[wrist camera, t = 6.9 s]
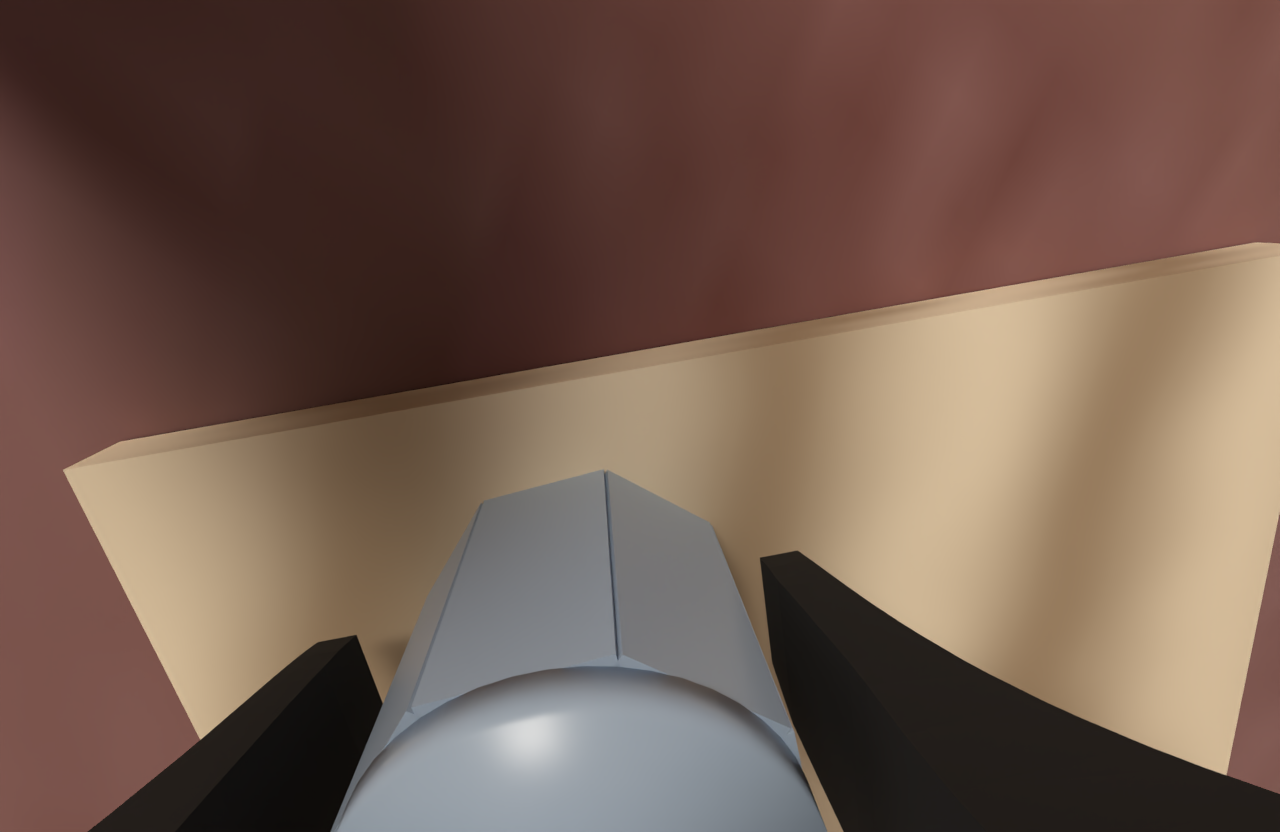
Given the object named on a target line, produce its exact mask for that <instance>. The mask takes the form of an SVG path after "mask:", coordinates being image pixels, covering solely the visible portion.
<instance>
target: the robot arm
mask: <svg viewBox="0 0 1280 832" xmlns="http://www.w3.org/2000/svg"><path fill="white" fill-rule="evenodd" d="M760 564H761V573H762V581H763V590H764V598H765V607H766V615H767V624H768V632H769V641H770V649H771V658H772V664H773V667H774V670H775V673H776V676H777V679H778V682H779V685H780V688H781V691H782V694H783V697H784V700H785V702H786V705H787V708H788V711H789V714H790V717H791V720H792V723H793V725H794V727H795V729H796V731H797V734H798V736H799V738H800V740H801V742H802V744H803V747H804V749H805V751H806V753H807V755H808V757H809V759H810V762H811V764H812V766H813V768H814V770H815V772H816V775H817V777H818V779H819V781H820V783H821V785H822V787H823V789H824V791H825V794H826V796H827V798H828V800H829V802H830V804H831V806H832V808H833V811H834V813H835V815H836V817H837V819H838V821H839V823H840V825H841V828H842V830H843V832H1280V794H1278V793H1275V792H1272V791H1269V790H1266V789H1263V788H1261V787H1258V786H1255V785H1252V784H1249V783H1246V782H1244V781H1241V780H1238V779H1235V778H1232V777H1229V776H1227V775H1224V774H1221V773H1218V772H1215V771H1212V770H1210V769H1207V768H1204V767H1201V766H1199V765H1196V764H1194V763H1191V762H1188V761H1186V760H1183V759H1180V758H1178V757H1175V756H1173V755H1170V754H1167V753H1165V752H1162V751H1159V750H1157V749H1154V748H1152V747H1149V746H1147V745H1144V744H1142V743H1139V742H1137V741H1135V740H1132V739H1130V738H1128V737H1125V736H1123V735H1120V734H1118V733H1116V732H1113V731H1111V730H1109V729H1106V728H1104V727H1101V726H1099V725H1097V724H1094V723H1092V722H1090V721H1087V720H1085V719H1082V718H1080V717H1078V716H1076V715H1073V714H1071V713H1069V712H1067V711H1065V710H1062V709H1060V708H1058V707H1056V706H1054V705H1051V704H1049V703H1047V702H1045V701H1043V700H1041V699H1039V698H1037V697H1035V696H1033V695H1031V694H1029V693H1027V692H1025V691H1023V690H1021V689H1019V688H1017V687H1015V686H1013V685H1011V684H1009V683H1007V682H1005V681H1003V680H1001V679H999V678H997V677H994V676H992V675H990V674H988V673H987V672H985V671H983V670H981V669H979V668H977V667H975V666H974V665H972V664H970V663H968V662H966V661H964V660H963V659H961V658H959V657H957V656H956V655H954V654H952V653H951V652H949V651H947V650H945V649H944V648H942V647H940V646H939V645H937V644H935V643H933V642H932V641H930V640H928V639H927V638H925V637H923V636H922V635H920V634H918V633H917V632H915V631H913V630H912V629H910V628H909V627H907V626H905V625H904V624H902V623H901V622H899V621H898V620H896V619H895V618H893V617H892V616H890V615H889V614H887V613H885V612H884V611H882V610H881V609H879V608H878V607H876V606H875V605H873V604H872V603H871V602H869V601H868V600H866V599H865V598H863V597H862V596H860V595H859V594H858V593H856V592H855V591H853V590H852V589H851V588H849V587H848V586H846V585H845V584H844V583H842V582H841V581H839V580H838V579H837V578H835V577H834V576H832V575H831V574H830V573H828V572H827V571H826V570H824V569H823V568H821V567H820V566H819V565H817V564H816V563H815V562H813V561H812V560H810V559H809V558H808V557H806V556H805V555H803V554H802V553H801V552H799V551H798V550H797V551H792V552H787V553H781V554H776V555H771V556H766V557H761V558H760ZM382 705H383V703H382V700H381V697H380V695H379V692H378V690H377V687H376V684H375V682H374V679H373V677H372V674H371V671H370V669H369V666H368V663H367V661H366V658H365V656H364V653H363V650H362V648H361V645H360V643H359V640H358V637H357V635H353V636H347V637H342V638H337V639H332V640H326V641H321V642H317V643H316V644H314V645H313V646H312V647H310V648H309V649H308V650H306V651H305V652H304V653H302V654H301V655H300V656H298V657H297V658H296V659H295V660H293V661H292V662H291V663H290V664H289V665H287V666H286V667H285V668H284V669H283V670H281V671H280V672H279V673H278V674H277V675H275V676H274V677H273V678H272V679H271V680H270V681H268V682H267V683H266V684H265V685H264V686H263V687H261V688H260V689H259V690H258V691H257V692H256V693H254V694H253V695H252V696H251V697H250V698H249V699H247V700H246V701H245V702H244V703H243V704H242V705H240V706H239V707H238V708H237V709H236V710H235V711H234V712H232V713H231V714H230V715H229V716H228V717H227V718H225V719H224V720H223V721H222V722H221V723H220V724H218V725H217V726H216V727H215V728H214V729H213V730H211V731H210V732H209V733H208V734H207V735H206V736H204V737H203V738H202V739H201V740H200V741H199V742H197V743H196V744H195V745H194V746H193V747H192V748H190V749H189V750H188V751H187V752H186V753H184V754H183V755H182V756H181V757H180V758H178V759H177V760H176V761H175V762H173V763H172V764H171V765H170V766H169V767H167V768H166V769H165V770H164V771H162V772H161V773H160V774H159V775H157V776H156V777H155V778H154V779H153V780H151V781H150V782H149V783H148V784H146V785H145V786H144V787H143V788H142V789H140V790H139V791H138V792H137V793H135V794H134V795H133V796H132V797H130V798H129V799H128V800H127V801H126V802H124V803H123V804H122V805H121V806H119V807H118V808H117V809H116V810H114V811H113V812H112V813H111V814H110V815H108V816H107V817H106V818H105V819H103V820H102V821H101V822H100V823H98V824H97V825H96V826H94V827H93V828H92V829H91V830H89V831H88V832H331V829H332V827H333V824H334V822H335V820H336V817H337V815H338V812H339V810H340V807H341V805H342V803H343V800H344V798H345V795H346V793H347V790H348V788H349V785H350V783H351V781H352V778H353V776H354V773H355V771H356V768H357V766H358V764H359V761H360V759H361V756H362V754H363V751H364V749H365V747H366V744H367V742H368V739H369V737H370V734H371V732H372V730H373V727H374V725H375V722H376V720H377V717H378V715H379V712H380V710H381V708H382Z"/></svg>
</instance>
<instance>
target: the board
mask: <svg viewBox="0 0 1280 832" xmlns="http://www.w3.org/2000/svg"><path fill="white" fill-rule="evenodd" d="M603 469H604V473H606V471H607V470H609V471H611V472H613V473H615V474H617V475H619V476H621V477H623V478H625V479H626V480H628V481H630V482H632V483H634V484H636V485H638V486H640V487H642V488H644V489H646V490H648V491H650V492H652V493H654V494H656V495H657V496H659V497H661V498H663V499H665V500H667V501H669V502H671V503H673V504H675V505H677V506H679V507H681V508H683V509H685V510H687V511H688V512H690V513H692V514H694V515H696V516H698V517H700V518H702V519H704V520H706V521H708V522H710V524H711V525H712V527H713V529H714V532H715V534H716V537H717V539H718V542H719V544H720V547H721V549H722V552H723V554H724V557H725V559H726V562H727V564H728V567H729V569H730V572H731V574H732V577H733V579H734V582H735V584H736V587H737V589H738V592H739V594H740V597H741V599H742V602H743V604H744V607H745V609H746V612H747V614H748V617H749V620H750V622H751V625H752V627H753V630H754V632H755V635H756V637H757V640H758V642H759V645H760V647H761V650H762V652H763V655H764V657H765V660H766V662H767V665H768V667H769V670H770V672H771V675H772V677H773V680H774V682H775V685H776V687H777V690H778V692H779V695H780V697H781V700H782V702H783V705H784V707H785V710H786V712H787V715H788V717H789V720H790V722H791V725H792V727H793V730H794V733H795V737H796V742H797V747H798V751H799V756H800V761H801V766H802V770H803V772H804V774H805V776H806V778H807V780H808V783H809V785H810V788H811V790H812V793H813V796H814V798H815V801H816V803H817V806H818V809H819V811H820V814H821V816H822V819H823V821H824V824H825V827H826V829H827V832H843V830H842V828H841V825H840V823H839V821H838V819H837V817H836V815H835V813H834V811H833V808H832V806H831V804H830V802H829V800H828V798H827V796H826V794H825V791H824V789H823V787H822V785H821V783H820V781H819V779H818V777H817V775H816V772H815V770H814V768H813V766H812V764H811V762H810V759H809V757H808V755H807V753H806V751H805V749H804V747H803V744H802V742H801V740H800V738H799V736H798V734H797V731H796V729H795V727H794V725H793V723H792V720H791V717H790V714H789V711H788V708H787V705H786V702H785V700H784V697H783V694H782V691H781V688H780V685H779V682H778V679H777V676H776V673H775V670H774V667H773V664H772V658H771V649H770V641H769V632H768V624H767V615H766V607H765V598H764V590H763V581H762V573H761V564H760V558H761V557H766V556H771V555H776V554H781V553H787V552H792V551H797V550H798V551H799V552H801V553H802V554H803V555H805V556H806V557H808V558H809V559H810V560H812V561H813V562H815V563H816V564H817V565H819V566H820V567H821V568H823V569H824V570H826V571H827V572H828V573H830V574H831V575H832V576H834V577H835V578H837V579H838V580H839V581H841V582H842V583H844V584H845V585H846V586H848V587H849V588H851V589H852V590H853V591H855V592H856V593H858V594H859V595H860V596H862V597H863V598H865V599H866V600H868V601H869V602H871V603H872V604H873V605H875V606H876V607H878V608H879V609H881V610H882V611H884V612H885V613H887V614H889V615H890V616H892V617H893V618H895V619H896V620H898V621H899V622H901V623H902V624H904V625H905V626H907V627H909V628H910V629H912V630H913V631H915V632H917V633H918V634H920V635H922V636H923V637H925V638H927V639H928V640H930V641H932V642H933V643H935V644H937V645H939V646H940V647H942V648H944V649H945V650H947V651H949V652H951V653H952V654H954V655H956V656H957V657H959V658H961V659H963V660H964V661H966V662H968V663H970V664H972V665H974V666H975V667H977V668H979V669H981V670H983V671H985V672H987V673H988V674H990V675H992V676H994V677H997V678H999V679H1001V680H1003V681H1005V682H1007V683H1009V684H1011V685H1013V686H1015V687H1017V688H1019V689H1021V690H1023V691H1025V692H1027V693H1029V694H1031V695H1033V696H1035V697H1037V698H1039V699H1041V700H1043V701H1045V702H1047V703H1049V704H1051V705H1054V706H1056V707H1058V708H1060V709H1062V710H1065V711H1067V712H1069V713H1071V714H1073V715H1076V716H1078V717H1080V718H1082V719H1085V720H1087V721H1090V722H1092V723H1094V724H1097V725H1099V726H1101V727H1104V728H1106V729H1109V730H1111V731H1113V732H1116V733H1118V734H1120V735H1123V736H1125V737H1128V738H1130V739H1132V740H1135V741H1137V742H1139V743H1142V744H1144V745H1147V746H1149V747H1152V748H1154V749H1157V750H1159V751H1162V752H1165V753H1167V754H1170V755H1173V756H1175V757H1178V758H1180V759H1183V760H1186V761H1188V762H1191V763H1194V764H1196V765H1199V766H1201V767H1204V768H1207V769H1210V770H1212V771H1215V772H1218V773H1221V774H1224V775H1226V774H1227V769H1228V764H1229V759H1230V754H1231V749H1232V744H1233V740H1234V735H1235V730H1236V725H1237V720H1238V715H1239V710H1240V705H1241V700H1242V695H1243V690H1244V685H1245V680H1246V675H1247V670H1248V665H1249V661H1250V656H1251V651H1252V646H1253V641H1254V636H1255V631H1256V626H1257V621H1258V616H1259V611H1260V606H1261V601H1262V596H1263V591H1264V586H1265V582H1266V577H1267V572H1268V567H1269V562H1270V557H1271V552H1272V547H1273V542H1274V537H1275V532H1276V527H1277V522H1278V517H1279V512H1280V244H1278V243H1258V242H1256V243H1250V244H1244V245H1239V246H1233V247H1227V248H1221V249H1216V250H1210V251H1204V252H1199V253H1193V254H1187V255H1181V256H1176V257H1170V258H1164V259H1159V260H1153V261H1147V262H1142V263H1136V264H1130V265H1124V266H1119V267H1113V268H1107V269H1102V270H1096V271H1090V272H1085V273H1079V274H1073V275H1067V276H1062V277H1056V278H1050V279H1045V280H1039V281H1033V282H1028V283H1022V284H1016V285H1010V286H1005V287H999V288H993V289H988V290H982V291H976V292H971V293H965V294H959V295H953V296H948V297H942V298H936V299H931V300H925V301H919V302H913V303H908V304H902V305H896V306H891V307H885V308H879V309H874V310H868V311H862V312H856V313H851V314H845V315H839V316H834V317H828V318H822V319H817V320H811V321H805V322H799V323H794V324H788V325H782V326H777V327H771V328H765V329H760V330H754V331H748V332H742V333H737V334H731V335H725V336H720V337H714V338H708V339H703V340H697V341H691V342H685V343H680V344H674V345H668V346H663V347H657V348H651V349H645V350H640V351H634V352H628V353H623V354H617V355H611V356H606V357H600V358H594V359H588V360H583V361H577V362H571V363H566V364H560V365H554V366H549V367H543V368H537V369H531V370H526V371H520V372H514V373H509V374H503V375H497V376H492V377H486V378H480V379H474V380H469V381H463V382H457V383H452V384H446V385H440V386H435V387H429V388H423V389H417V390H412V391H406V392H400V393H395V394H389V395H383V396H378V397H372V398H366V399H360V400H355V401H349V402H343V403H338V404H332V405H326V406H320V407H315V408H309V409H303V410H298V411H292V412H286V413H281V414H275V415H269V416H263V417H258V418H252V419H246V420H241V421H235V422H229V423H224V424H218V425H212V426H206V427H201V428H195V429H189V430H184V431H178V432H172V433H167V434H161V435H155V436H149V437H144V438H138V439H132V440H127V441H121V442H118V443H116V444H114V445H112V446H110V447H108V448H106V449H104V450H102V451H100V452H98V453H96V454H94V455H92V456H90V457H88V458H86V459H84V460H82V461H80V462H78V463H76V464H74V465H72V466H70V467H68V468H66V469H64V470H63V471H64V473H65V475H66V477H67V479H68V481H69V483H70V485H71V487H72V489H73V491H74V492H75V494H76V496H77V498H78V500H79V502H80V504H81V506H82V508H83V510H84V512H85V514H86V516H87V518H88V520H89V522H90V524H91V526H92V528H93V530H94V532H95V534H96V536H97V538H98V540H99V542H100V544H101V545H102V547H103V549H104V551H105V553H106V555H107V557H108V559H109V561H110V563H111V565H112V567H113V569H114V571H115V573H116V575H117V577H118V579H119V581H120V583H121V585H122V587H123V589H124V591H125V593H126V595H127V597H128V599H129V600H130V602H131V604H132V606H133V608H134V610H135V612H136V614H137V616H138V618H139V620H140V622H141V624H142V626H143V628H144V630H145V632H146V634H147V636H148V638H149V640H150V642H151V644H152V646H153V648H154V650H155V652H156V653H157V655H158V657H159V659H160V661H161V663H162V665H163V667H164V669H165V671H166V673H167V675H168V677H169V679H170V681H171V683H172V685H173V687H174V689H175V691H176V693H177V695H178V697H179V699H180V701H181V703H182V705H183V707H184V708H185V710H186V712H187V714H188V716H189V718H190V720H191V722H192V724H193V726H194V728H195V730H196V732H197V734H198V736H199V738H200V740H201V739H202V738H203V737H204V736H206V735H207V734H208V733H209V732H210V731H211V730H213V729H214V728H215V727H216V726H217V725H218V724H220V723H221V722H222V721H223V720H224V719H225V718H227V717H228V716H229V715H230V714H231V713H232V712H234V711H235V710H236V709H237V708H238V707H239V706H240V705H242V704H243V703H244V702H245V701H246V700H247V699H249V698H250V697H251V696H252V695H253V694H254V693H256V692H257V691H258V690H259V689H260V688H261V687H263V686H264V685H265V684H266V683H267V682H268V681H270V680H271V679H272V678H273V677H274V676H275V675H277V674H278V673H279V672H280V671H281V670H283V669H284V668H285V667H286V666H287V665H289V664H290V663H291V662H292V661H293V660H295V659H296V658H297V657H298V656H300V655H301V654H302V653H304V652H305V651H306V650H308V649H309V648H310V647H312V646H313V645H314V644H316V643H317V642H321V641H326V640H332V639H337V638H342V637H347V636H353V635H357V637H358V640H359V643H360V645H361V648H362V650H363V653H364V656H365V658H366V661H367V663H368V666H369V669H370V671H371V674H372V677H373V679H374V682H375V684H376V687H377V690H378V692H379V695H380V697H381V700H382V703H384V700H385V698H386V695H387V693H388V691H389V688H390V686H391V683H392V681H393V678H394V676H395V674H396V671H397V669H398V666H399V664H400V661H401V659H402V657H403V654H404V652H405V649H406V647H407V644H408V642H409V640H410V637H411V635H412V632H413V630H414V627H415V625H416V622H417V620H418V618H419V615H420V613H421V610H422V608H423V605H424V603H425V601H426V598H427V596H428V594H429V592H430V591H431V589H432V587H433V585H434V584H435V582H436V580H437V579H438V577H439V575H440V573H441V572H442V570H443V568H444V566H445V565H446V563H447V561H448V559H449V558H450V556H451V554H452V552H453V551H454V549H455V547H456V545H457V544H458V542H459V540H460V538H461V537H462V535H463V533H464V531H465V530H466V528H467V526H468V524H469V523H470V521H471V519H472V517H473V516H474V514H475V512H476V510H477V509H478V507H479V505H480V503H482V504H483V502H484V500H488V499H492V498H496V497H500V496H503V495H507V494H511V493H515V492H519V491H522V490H526V489H530V488H534V487H538V486H542V485H545V484H549V483H553V482H557V481H561V480H564V479H568V478H572V477H576V476H580V475H583V474H587V473H591V472H595V471H599V470H603Z"/></svg>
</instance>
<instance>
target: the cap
mask: <svg viewBox="0 0 1280 832" xmlns="http://www.w3.org/2000/svg"><path fill="white" fill-rule="evenodd" d="M331 832H827V829H826V827H825V824H824V821H823V819H822V816H821V814H820V811H819V809H818V806H817V803H816V801H815V798H814V796H813V793H812V790H811V788H810V785H809V783H808V780H807V778H806V776H805V774H804V772H803V770H802V766H801V761H800V756H799V751H798V747H797V742H796V737H795V733H794V730H793V727H792V725H791V722H790V720H789V717H788V715H787V712H786V710H785V707H784V705H783V702H782V700H781V697H780V695H779V692H778V690H777V687H776V685H775V682H774V680H773V677H772V675H771V672H770V670H769V667H768V665H767V662H766V660H765V657H764V655H763V652H762V650H761V647H760V645H759V642H758V640H757V637H756V635H755V632H754V630H753V627H752V625H751V622H750V620H749V617H748V614H747V612H746V609H745V607H744V604H743V602H742V599H741V597H740V594H739V592H738V589H737V587H736V584H735V582H734V579H733V577H732V574H731V572H730V569H729V567H728V564H727V562H726V559H725V557H724V554H723V552H722V549H721V547H720V544H719V542H718V539H717V537H716V534H715V532H714V529H713V527H712V525H711V524H710V522H708V521H706V520H704V519H702V518H700V517H698V516H696V515H694V514H692V513H690V512H688V511H687V510H685V509H683V508H681V507H679V506H677V505H675V504H673V503H671V502H669V501H667V500H665V499H663V498H661V497H659V496H657V495H656V494H654V493H652V492H650V491H648V490H646V489H644V488H642V487H640V486H638V485H636V484H634V483H632V482H630V481H628V480H626V479H625V478H623V477H621V476H619V475H617V474H615V473H613V472H611V471H609V470H607V471H606V473H604V469H603V470H599V471H595V472H591V473H587V474H583V475H580V476H576V477H572V478H568V479H564V480H561V481H557V482H553V483H549V484H545V485H542V486H538V487H534V488H530V489H526V490H522V491H519V492H515V493H511V494H507V495H503V496H500V497H496V498H492V499H488V500H484V502H483V504H482V503H480V505H479V507H478V509H477V510H476V512H475V514H474V516H473V517H472V519H471V521H470V523H469V524H468V526H467V528H466V530H465V531H464V533H463V535H462V537H461V538H460V540H459V542H458V544H457V545H456V547H455V549H454V551H453V552H452V554H451V556H450V558H449V559H448V561H447V563H446V565H445V566H444V568H443V570H442V572H441V573H440V575H439V577H438V579H437V580H436V582H435V584H434V585H433V587H432V589H431V591H430V592H429V594H428V596H427V598H426V601H425V603H424V605H423V608H422V610H421V613H420V615H419V618H418V620H417V622H416V625H415V627H414V630H413V632H412V635H411V637H410V640H409V642H408V644H407V647H406V649H405V652H404V654H403V657H402V659H401V661H400V664H399V666H398V669H397V671H396V674H395V676H394V678H393V681H392V683H391V686H390V688H389V691H388V693H387V695H386V698H385V700H384V703H383V705H382V708H381V710H380V712H379V715H378V717H377V720H376V722H375V725H374V727H373V730H372V732H371V734H370V737H369V739H368V742H367V744H366V747H365V749H364V751H363V754H362V756H361V759H360V761H359V764H358V766H357V768H356V771H355V773H354V776H353V778H352V781H351V783H350V785H349V788H348V790H347V793H346V795H345V798H344V800H343V803H342V805H341V807H340V810H339V812H338V815H337V817H336V820H335V822H334V824H333V827H332V829H331Z"/></svg>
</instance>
